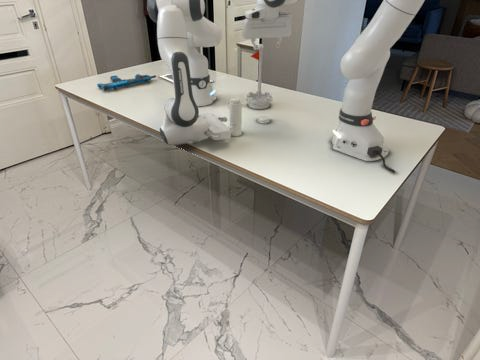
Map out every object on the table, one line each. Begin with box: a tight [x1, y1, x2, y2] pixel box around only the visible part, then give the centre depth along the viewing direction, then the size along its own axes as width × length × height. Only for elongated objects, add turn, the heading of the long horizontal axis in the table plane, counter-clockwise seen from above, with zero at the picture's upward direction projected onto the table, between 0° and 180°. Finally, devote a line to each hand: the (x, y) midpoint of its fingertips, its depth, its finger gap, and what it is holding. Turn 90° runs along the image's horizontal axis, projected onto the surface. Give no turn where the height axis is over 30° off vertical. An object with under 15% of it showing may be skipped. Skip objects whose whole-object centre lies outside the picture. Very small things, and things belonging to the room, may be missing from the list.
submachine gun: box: [96, 73, 157, 91], centre depth 207 cm, size 34×4×25 cm
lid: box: [257, 115, 271, 124], centre depth 159 cm, size 6×6×2 cm
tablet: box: [158, 72, 215, 84], centre depth 214 cm, size 32×20×1 cm, turn 41°
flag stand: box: [245, 43, 273, 110], centre depth 168 cm, size 13×13×30 cm
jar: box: [228, 97, 243, 137], centre depth 143 cm, size 5×5×16 cm
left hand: (231, 122), depth 144 cm, fingers open, 8 cm apart
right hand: (266, 49), depth 141 cm, fingers open, 8 cm apart
